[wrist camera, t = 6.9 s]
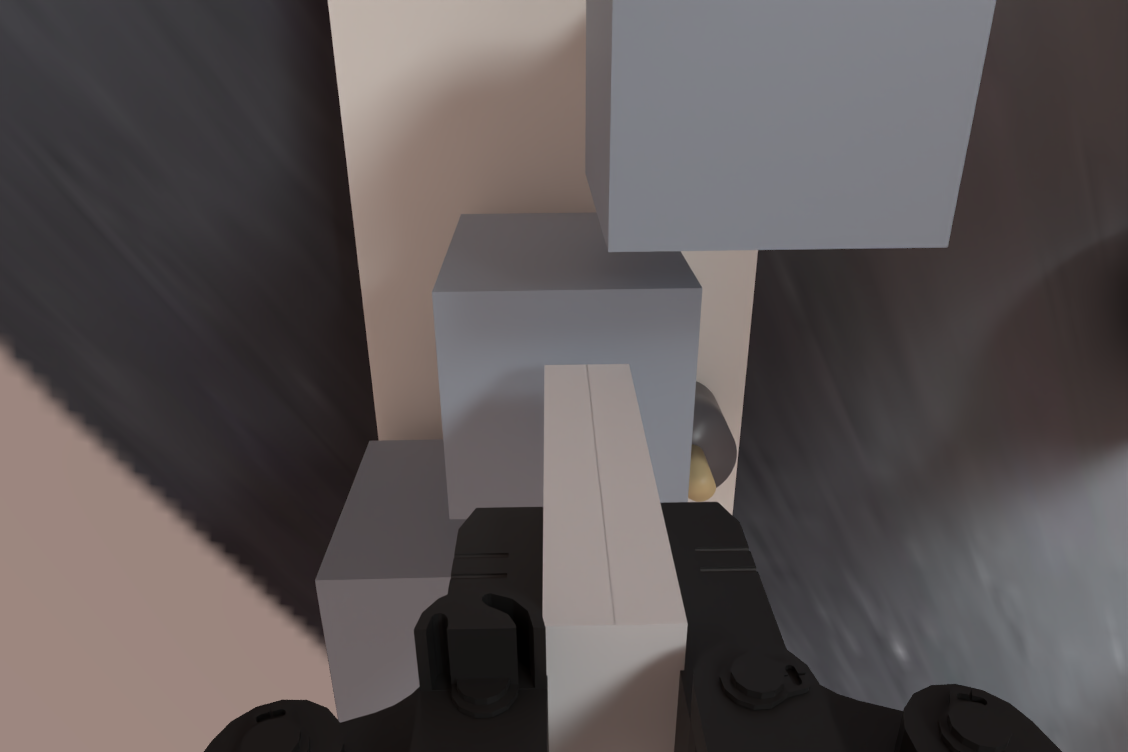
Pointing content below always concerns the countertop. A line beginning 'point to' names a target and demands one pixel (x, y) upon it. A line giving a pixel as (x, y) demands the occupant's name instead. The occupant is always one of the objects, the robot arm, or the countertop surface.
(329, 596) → the knob
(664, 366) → the knob
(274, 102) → the countertop surface
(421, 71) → the mount
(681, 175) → the pale grey-blue cube
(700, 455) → the potentiometer
